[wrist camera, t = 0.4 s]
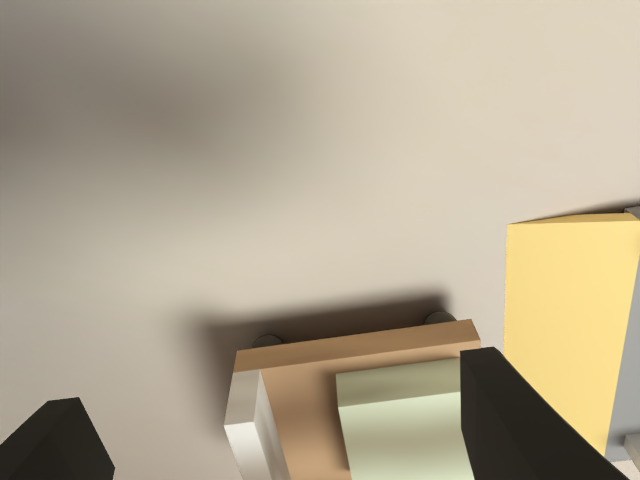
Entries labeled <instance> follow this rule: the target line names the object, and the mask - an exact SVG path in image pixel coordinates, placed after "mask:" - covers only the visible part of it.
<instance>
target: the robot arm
mask: <svg viewBox="0 0 640 480" xmlns="http://www.w3.org/2000/svg"><path fill="white" fill-rule="evenodd" d="M460 397H461V431H462V434H463V438H464V442H465V446H466V450H467V454H468V458H469V461H470V465H471V469H472V472H473V476H474V480H630V479H628V478H627V477H626V476H625V475H624V474H623V473H621V472H620V471H619V470H618V469H617V468H616V467H615V466H613V465H612V464H611V463H610V462H609V461H608V460H607V459H606V458H605V457H604V456H602V455H601V454H600V453H599V452H598V451H597V450H596V449H595V448H594V447H593V446H592V445H591V444H589V443H588V442H587V441H586V440H585V439H584V438H583V437H582V436H581V435H580V434H579V433H578V432H577V431H576V430H575V429H574V428H573V427H572V426H571V425H570V424H569V423H568V422H567V421H565V420H564V419H563V418H562V417H561V416H560V415H559V414H558V413H557V412H556V411H555V410H554V409H553V408H552V407H551V406H550V405H549V404H548V403H547V402H546V401H545V400H544V399H543V398H542V396H541V395H540V394H539V393H538V392H537V391H536V390H535V389H534V388H533V387H532V386H531V385H530V384H529V383H528V382H527V381H526V380H525V379H524V378H523V377H522V375H521V374H520V373H519V372H518V371H517V370H516V369H515V368H514V367H513V366H512V365H511V363H510V362H509V361H508V360H507V359H506V358H505V357H504V356H503V354H502V353H501V352H500V351H499V350H497V349H496V348H495V347H486V348H478V349H470V350H462V351H460ZM114 470H115V467H114V465H113V463H112V461H111V459H110V457H109V455H108V453H107V451H106V449H105V447H104V445H103V443H102V441H101V439H100V438H99V436H98V434H97V432H96V430H95V428H94V426H93V424H92V422H91V420H90V418H89V416H88V414H87V412H86V410H85V408H84V406H83V404H82V402H81V400H80V398H79V397H76V398H68V399H60V400H52V401H47V402H46V403H45V404H44V405H43V406H42V407H41V408H39V409H38V410H37V411H36V412H35V413H34V414H33V415H32V416H31V417H29V418H28V419H27V420H26V421H25V422H24V423H23V424H22V425H21V426H20V427H19V428H18V429H17V430H16V431H15V432H14V433H12V434H11V435H10V436H9V437H8V438H7V439H6V440H5V441H4V442H3V443H2V444H1V445H0V480H113V475H114Z"/></svg>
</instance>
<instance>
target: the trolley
mask: <svg viewBox="0 0 640 480" xmlns="http://www.w3.org/2000/svg"><path fill="white" fill-rule="evenodd" d="M478 348H480V338H479V336H478V333H477V331H476V329H475V327H474V324H473V322H472V320H471V319H467V320H460V321H457V320H456V319H455V318H454V317H453V316H452V315H451V314H449V313H447V312H435V313H432V314H431V315H429V316H428V317H427V319H426V320H425V322H424V325H423V326H415V327H408V328H401V329H393V330H386V331H378V332H371V333H364V334H356V335H349V336H341V337H334V338H327V339H319V340H312V341H304V342H297V343H290V344H283V342H282V341H281V340H280V339H279V338H277V337H276V336H273V335H264V336H262V337H260V338H258V339H257V340H256V341H255V342H254V344H253V346H252V348H251V349H245V350H238V351H237V353H236V358H235V364H234V370H233V375H232V381H231V387H230V392H229V398H228V403H227V409H226V415H225V420H224V428H225V431H226V434H227V437H228V439H229V442H230V445H231V448H232V451H233V453H234V456H235V459H236V462H237V465H238V467H239V470H240V473H241V476H242V479H243V480H474V476H473V472H472V469H471V465H470V461H469V458H468V454H467V450H466V446H465V442H464V438H463V434H462V431H461V397H460V351H462V350H470V349H478Z"/></svg>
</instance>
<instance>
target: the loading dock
mask: <svg viewBox="0 0 640 480" xmlns="http://www.w3.org/2000/svg"><path fill="white" fill-rule="evenodd" d="M504 357H505V358H506V359H507V360H508V361H509V362H510V363H511V365H512V366H513V367H514V368H515V369H516V370H517V371H518V372H519V373H520V374H521V375H522V377H523V378H524V379H525V380H526V381H527V382H528V383H529V384H530V385H531V386H532V387H533V388H534V389H535V390H536V391H537V392H538V393H539V394H540V395H541V396H542V398H543V399H544V400H545V401H546V402H547V403H548V404H549V405H550V406H551V407H552V408H553V409H554V410H555V411H556V412H557V413H558V414H559V415H560V416H561V417H562V418H563V419H564V420H565V421H567V422H568V423H569V424H570V425H571V426H572V427H573V428H574V429H575V430H576V431H577V432H578V433H579V434H580V435H581V436H582V437H583V438H584V439H585V440H586V441H587V442H588V443H589V444H591V445H592V446H593V447H594V448H595V449H596V450H597V451H598V452H599V453H600V454H601V455H602V456H604V457H605V458H606V459H607V460H608V461H609V462H616V461H625V460H632V461H633V462H634V464H635V466H636V467H637V469H638V470H639V472H640V206H637V207H630V208H625V209H624V213H614V214H582V215H570V216H563V217H556V218H549V219H542V220H535V221H528V222H521V223H514V224H508V225H507V247H506V284H505V321H504Z"/></svg>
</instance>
